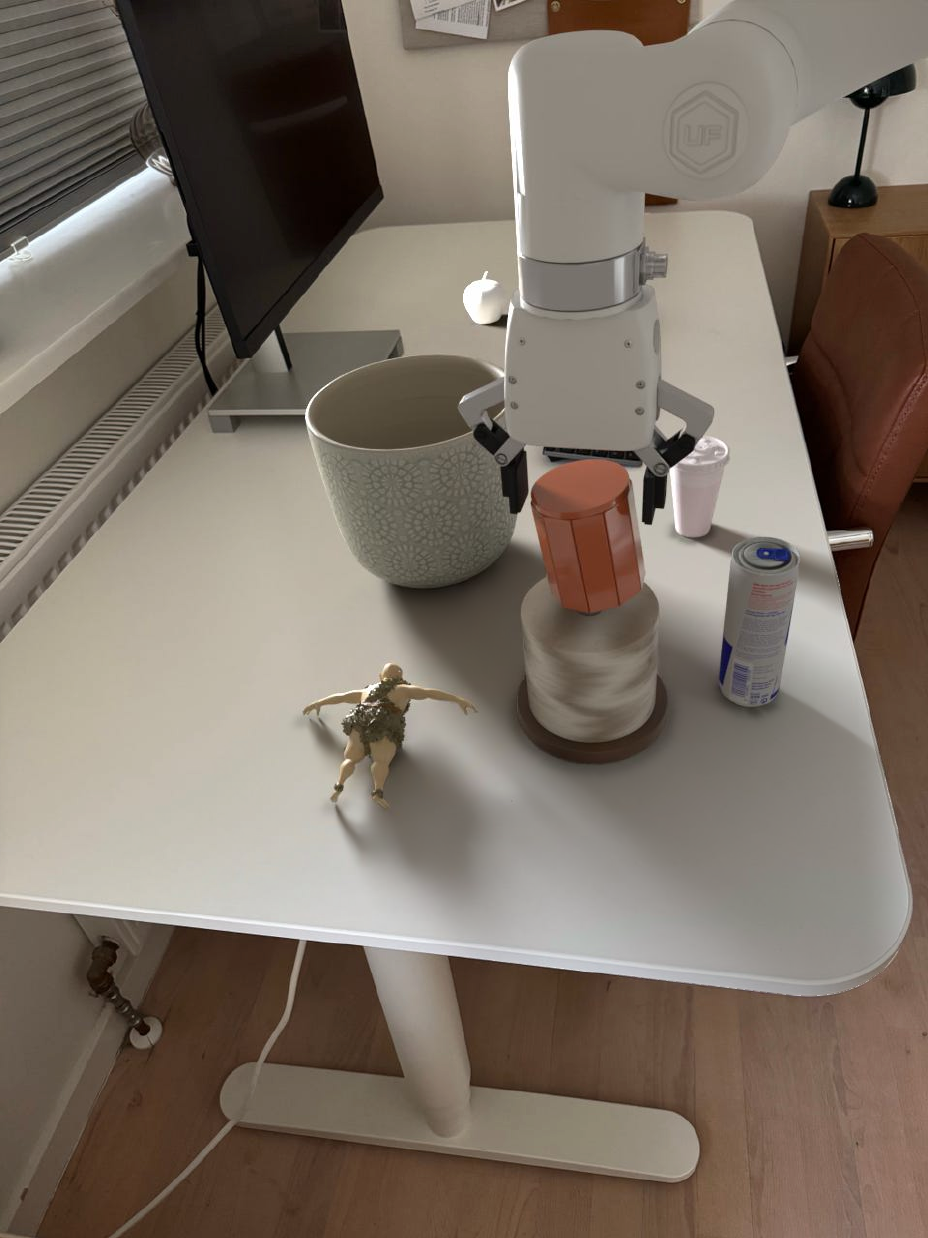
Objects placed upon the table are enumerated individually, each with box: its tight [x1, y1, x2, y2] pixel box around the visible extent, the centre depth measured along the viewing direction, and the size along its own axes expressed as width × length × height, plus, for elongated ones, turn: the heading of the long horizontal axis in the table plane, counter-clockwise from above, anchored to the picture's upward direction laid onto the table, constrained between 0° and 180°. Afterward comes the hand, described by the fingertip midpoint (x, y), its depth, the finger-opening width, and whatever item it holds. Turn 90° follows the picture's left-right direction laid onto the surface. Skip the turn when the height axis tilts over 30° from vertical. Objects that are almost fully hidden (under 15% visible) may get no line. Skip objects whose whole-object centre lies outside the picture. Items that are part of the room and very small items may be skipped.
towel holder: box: [516, 576, 669, 765], centre depth 72 cm, size 13×13×22 cm
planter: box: [305, 353, 518, 589], centre depth 93 cm, size 21×21×19 cm
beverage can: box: [718, 536, 801, 708], centre depth 73 cm, size 5×5×15 cm
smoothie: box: [669, 435, 731, 538], centre depth 93 cm, size 6×6×14 cm
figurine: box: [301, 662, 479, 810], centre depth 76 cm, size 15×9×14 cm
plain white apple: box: [463, 270, 507, 325], centre depth 147 cm, size 7×7×8 cm
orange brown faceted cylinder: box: [530, 458, 646, 613], centre depth 67 cm, size 7×8×9 cm
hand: (583, 509), depth 65 cm, fingers open, 9 cm apart
